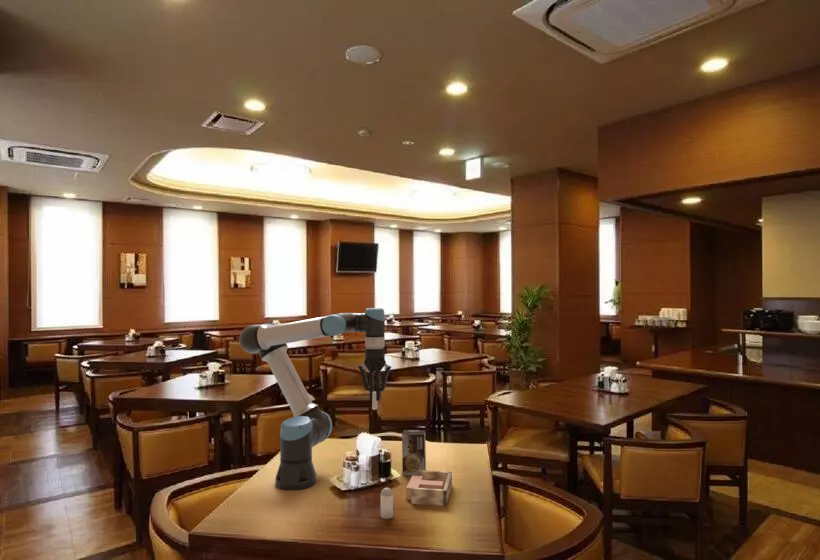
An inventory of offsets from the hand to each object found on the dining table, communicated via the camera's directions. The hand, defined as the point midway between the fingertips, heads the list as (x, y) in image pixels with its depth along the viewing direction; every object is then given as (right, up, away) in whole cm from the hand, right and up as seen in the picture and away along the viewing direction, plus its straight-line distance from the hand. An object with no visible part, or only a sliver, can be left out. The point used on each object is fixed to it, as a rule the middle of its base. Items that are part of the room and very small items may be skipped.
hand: (374, 408), depth 195 cm
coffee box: (+15, -27, +5) cm, 31 cm away
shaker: (+6, -25, -34) cm, 43 cm away
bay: (+22, -26, -17) cm, 38 cm away
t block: (+19, -26, -16) cm, 36 cm away
